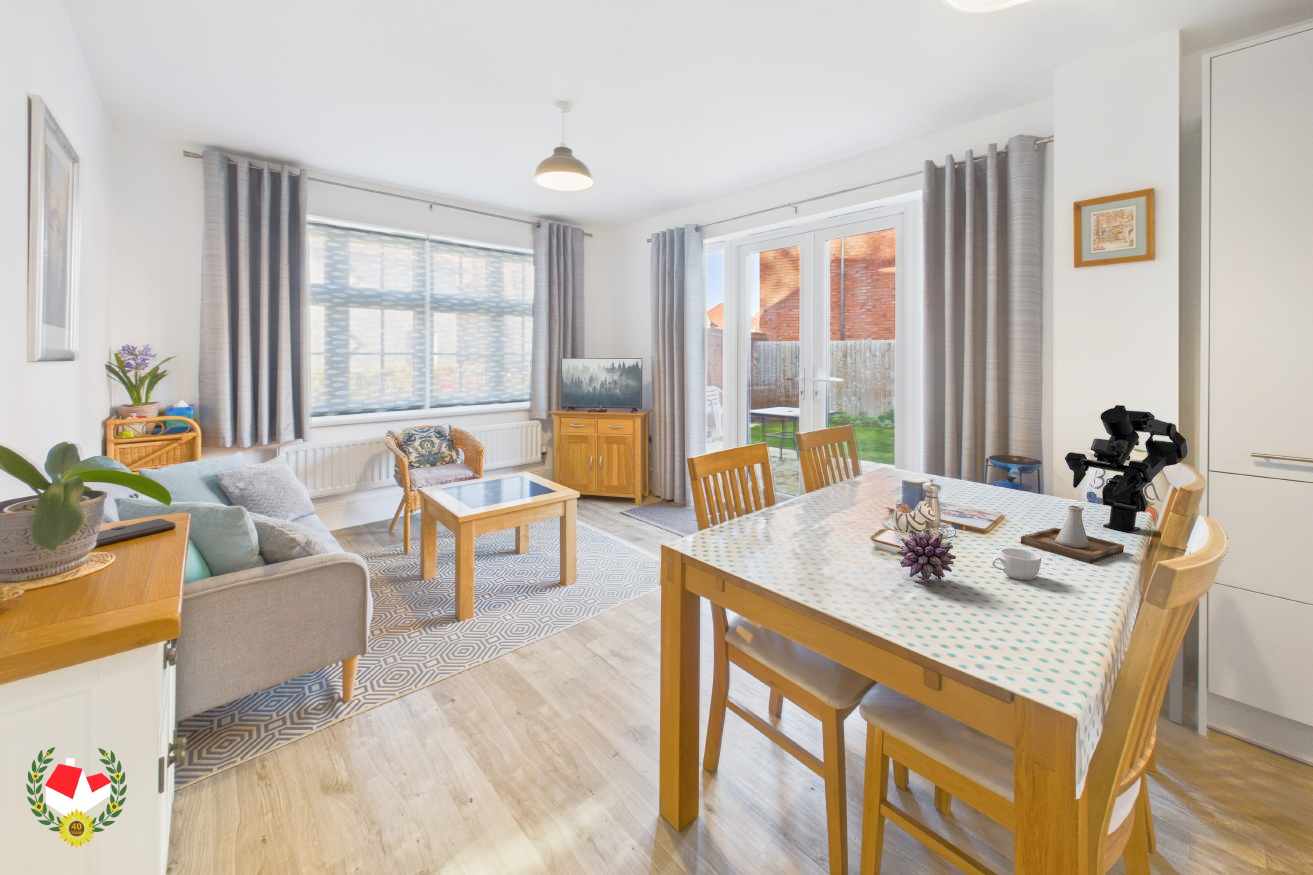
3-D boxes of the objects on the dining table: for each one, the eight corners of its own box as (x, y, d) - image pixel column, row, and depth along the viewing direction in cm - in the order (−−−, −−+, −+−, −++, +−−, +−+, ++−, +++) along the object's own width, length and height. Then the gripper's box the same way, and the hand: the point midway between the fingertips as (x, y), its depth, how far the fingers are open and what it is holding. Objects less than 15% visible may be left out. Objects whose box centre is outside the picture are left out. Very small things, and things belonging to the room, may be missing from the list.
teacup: (1024, 569, 127) (1027, 547, 126) (1047, 583, 119) (1050, 560, 119) (981, 569, 127) (983, 547, 126) (1001, 583, 120) (1003, 559, 119)
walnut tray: (1054, 534, 152) (1054, 527, 152) (1123, 552, 138) (1124, 545, 137) (1020, 543, 145) (1021, 536, 144) (1089, 563, 131) (1090, 555, 130)
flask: (1064, 537, 146) (1069, 501, 144) (1095, 546, 139) (1100, 508, 138) (1048, 541, 143) (1052, 505, 141) (1078, 550, 136) (1083, 512, 135)
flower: (891, 567, 129) (894, 519, 127) (947, 573, 125) (951, 523, 123) (898, 587, 118) (901, 534, 116) (959, 593, 114) (964, 539, 112)
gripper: (1071, 424, 155) (1046, 465, 151) (1154, 432, 138) (1127, 479, 135) (1083, 449, 159) (1058, 489, 156) (1164, 459, 143) (1139, 505, 140)
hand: (1093, 490), depth 146 cm, fingers open, 9 cm apart
